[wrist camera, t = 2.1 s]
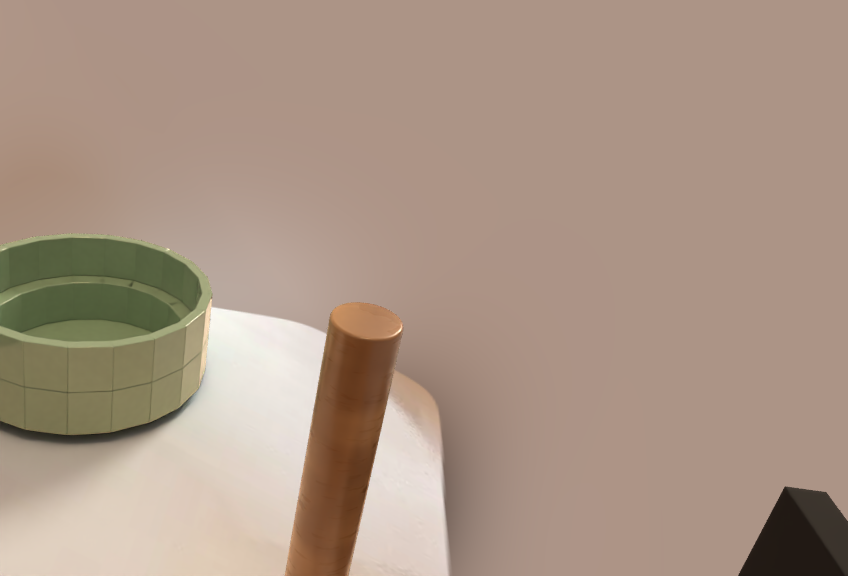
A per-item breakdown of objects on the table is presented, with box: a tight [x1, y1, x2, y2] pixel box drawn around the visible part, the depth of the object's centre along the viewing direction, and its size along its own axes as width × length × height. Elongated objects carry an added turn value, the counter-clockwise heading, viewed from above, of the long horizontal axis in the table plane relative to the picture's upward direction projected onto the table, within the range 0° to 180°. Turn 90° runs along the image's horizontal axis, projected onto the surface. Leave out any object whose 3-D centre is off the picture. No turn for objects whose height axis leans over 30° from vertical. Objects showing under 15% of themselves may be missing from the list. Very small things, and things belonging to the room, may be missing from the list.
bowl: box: [0, 233, 212, 435], centre depth 45 cm, size 13×13×6 cm
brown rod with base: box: [285, 302, 403, 576], centre depth 27 cm, size 5×5×18 cm
